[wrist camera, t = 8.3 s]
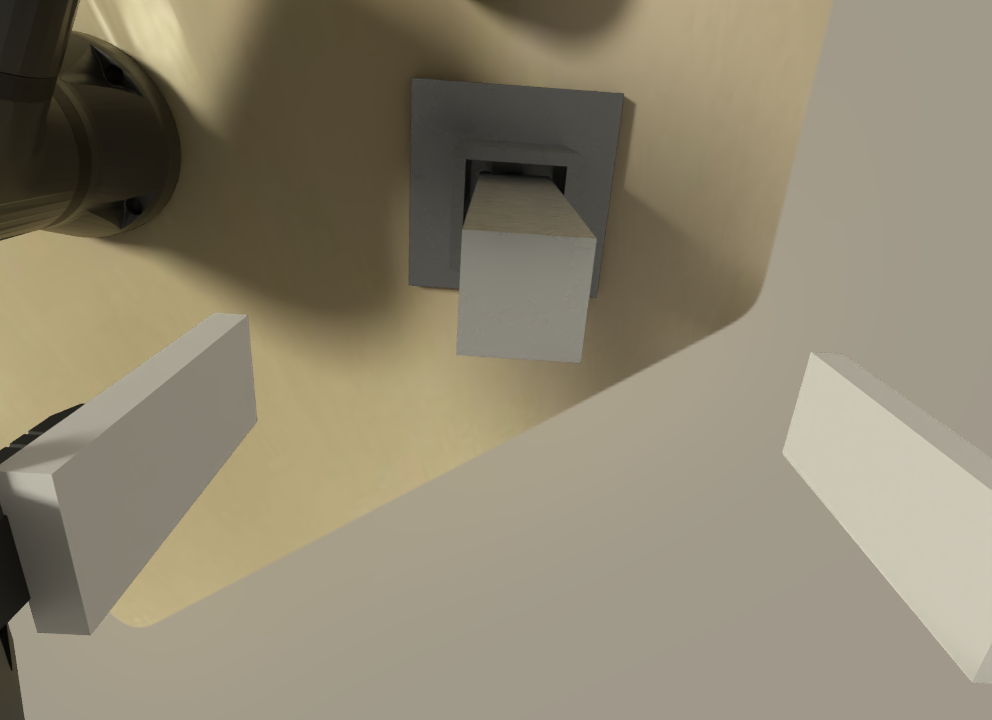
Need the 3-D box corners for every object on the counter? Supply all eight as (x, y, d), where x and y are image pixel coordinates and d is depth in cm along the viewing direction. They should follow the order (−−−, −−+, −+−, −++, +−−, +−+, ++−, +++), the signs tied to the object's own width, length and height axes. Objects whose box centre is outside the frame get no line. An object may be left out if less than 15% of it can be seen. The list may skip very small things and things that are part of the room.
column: (476, 247, 43) (455, 369, 23) (480, 171, 41) (462, 229, 21) (541, 252, 43) (578, 377, 23) (548, 176, 41) (596, 239, 21)
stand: (410, 281, 53) (388, 323, 42) (413, 78, 47) (389, 68, 36) (594, 293, 53) (617, 338, 43) (621, 93, 47) (655, 88, 37)
